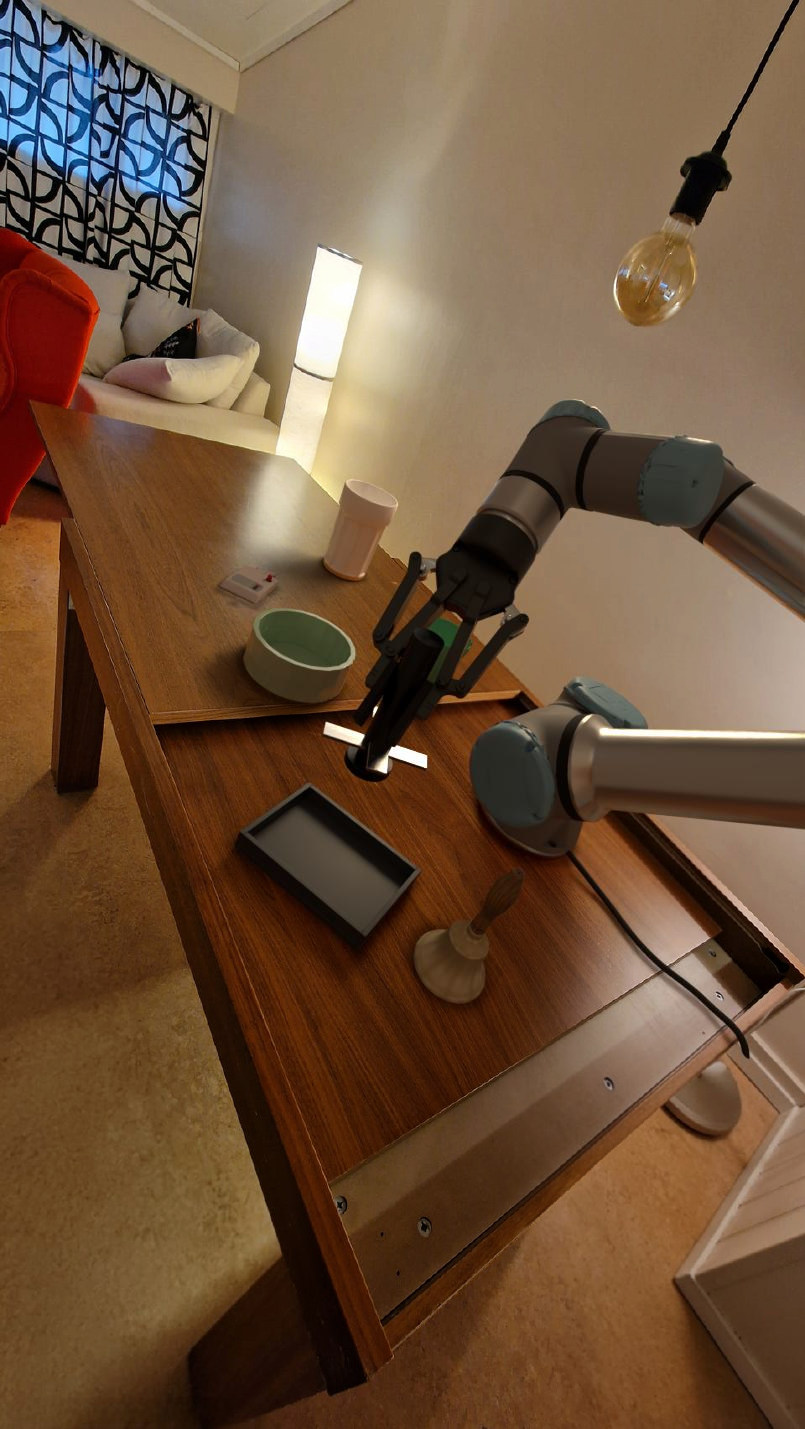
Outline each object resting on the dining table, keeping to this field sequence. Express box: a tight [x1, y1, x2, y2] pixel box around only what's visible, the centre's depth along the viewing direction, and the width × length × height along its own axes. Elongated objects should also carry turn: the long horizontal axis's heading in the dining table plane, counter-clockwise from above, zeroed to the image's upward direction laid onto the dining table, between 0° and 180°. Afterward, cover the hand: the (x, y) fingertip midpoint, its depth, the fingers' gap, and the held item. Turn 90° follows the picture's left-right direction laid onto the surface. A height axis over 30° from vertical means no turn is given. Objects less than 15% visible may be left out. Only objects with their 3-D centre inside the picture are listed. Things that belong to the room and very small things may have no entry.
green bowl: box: [242, 607, 356, 704], centre depth 94 cm, size 16×16×7 cm
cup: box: [322, 478, 399, 582], centre depth 128 cm, size 11×11×17 cm
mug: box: [427, 617, 473, 684], centre depth 110 cm, size 15×10×10 cm
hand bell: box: [413, 867, 526, 1005], centre depth 62 cm, size 8×8×16 cm
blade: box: [321, 628, 444, 783], centre depth 60 cm, size 11×10×16 cm
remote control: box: [219, 564, 280, 605], centre depth 111 cm, size 7×16×3 cm, turn 166°
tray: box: [233, 781, 422, 952], centre depth 69 cm, size 17×12×3 cm
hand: (374, 732), depth 57 cm, fingers closed on blade, 3 cm apart
